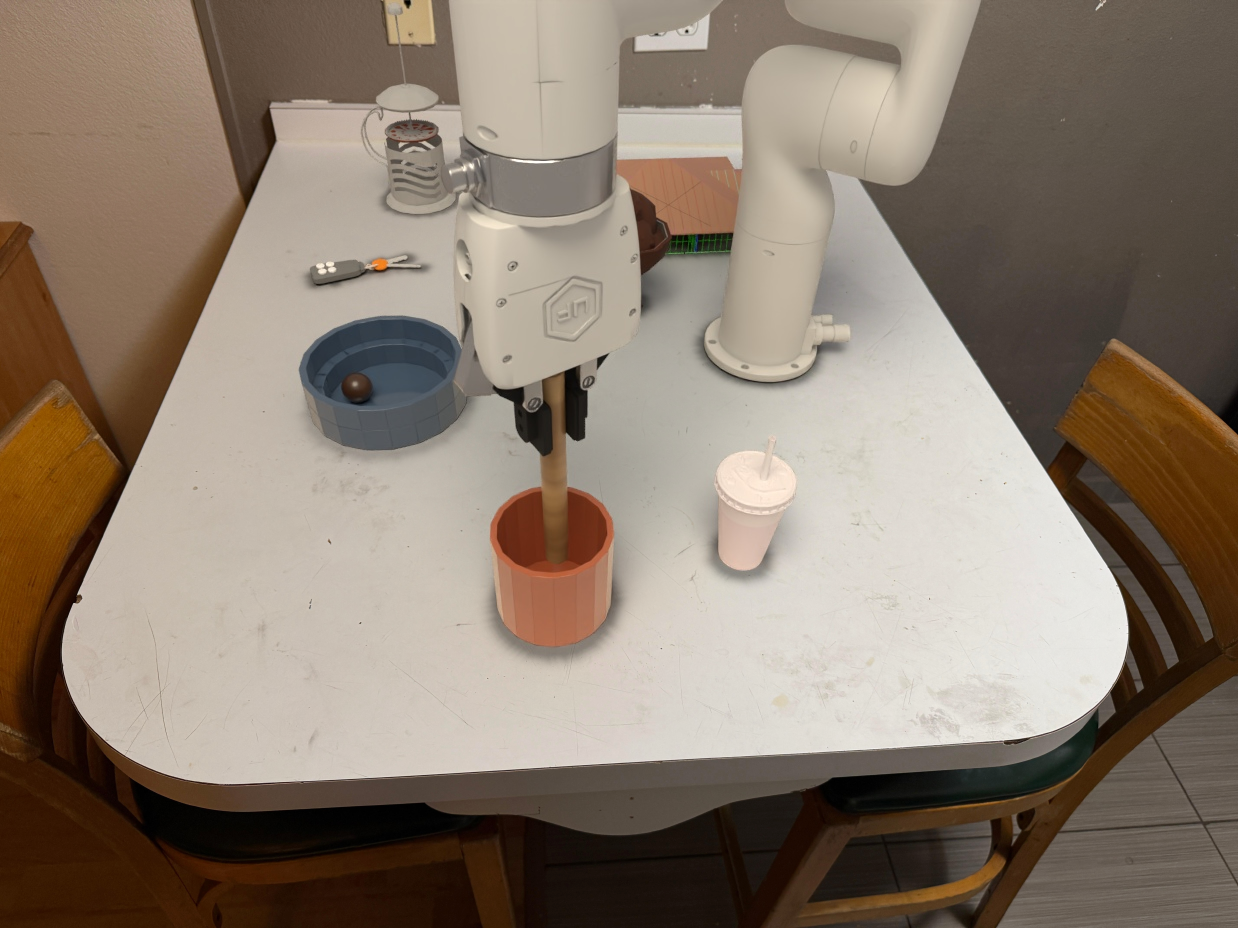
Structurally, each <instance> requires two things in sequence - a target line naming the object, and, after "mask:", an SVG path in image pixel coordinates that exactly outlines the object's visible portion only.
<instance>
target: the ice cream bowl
mask: <svg viewBox="0 0 1238 928" xmlns="http://www.w3.org/2000/svg"><path fill="white" fill-rule="evenodd" d="M629 188H630V187H629ZM630 192H631V197H632V201H633V206H634V212H635V218H636V224H637V231H638V240H639V252H640V270H641V276H644V275H645V274H646V273H648V272H649V271H650V270H652V269H653V268H654V267H655V266H656V265H657V264H658V263H660V262H661V260H662V259H663V258H664V257H665V255H667V254H666V253H668V251H669V250H670V242H671V241H672V239H673V237H672V236H673V235H672V236H671V233H670V230H669V227H668V224H667V222H665V221H663V220H661V219H659V218H657V217H656V207H655V205H654V204H653V203H652V202H651V201H650V200H649V199H647V198H646V197H645V196H644V195H643V194H641V193H639V192H637V191H635V190H632V189H631V188H630ZM671 243H672V242H671ZM641 308H643V302H642V300H641Z"/></svg>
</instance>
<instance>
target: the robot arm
mask: <svg viewBox="0 0 1238 928" xmlns="http://www.w3.org/2000/svg"><path fill="white" fill-rule="evenodd" d="M723 1H724V0H448V7H449V8H448V9H449V16H450V17H449V19H450V27H451V37H452V45H453V55H454V63H455V73H456V82H457V83H456V84H457V91H458V100H459V108H460V120H461V127H462V129H461V130H462V136H459V137H458V139H459V146H460V147H459V149H460V156H459V157H457V158H455V159H454V160H453V162H450V163H445V165H442V167H441V178H442V182H443V184H444V187H445V189H446V190H447V192H448V193H449V194H454V193H455V194H456V193H460V194H459V195H458V200H457V201H458V203H457V209H456V215H455V226H454V239H453V294H454V295H453V296H454V308H455V319H456V320H455V321H456V327H457V328H456V329H457V336H458V339H459V340H458V341H459V344H460V346H461V349H462V351H461V355H460V358H459V362H458V366H457V369H456V373H455V377H454V382H455V384H456V385H457V386H458V388H459V389H460V390H461V391H462V392H463V393H464V394H465V395H466V396H467V397H486V396H492V395H498V396H499V397H501V398H503V399H506V400H507V401H509V402H512V403H513V412H514V413H513V414H514V425H515V430H516V433H517V435H518V436H519V438H520V439H521V440H522V441H523V443H525V444H528V443H530V444H531V445H532V446H533V447H534V448H535V449H536V451H537V452H538V453H539V455H540V454H541V455H542V456H543V457H544V456H546V455H548V454H551V451H552V450H553V435H552V411H551V408H550V406H549V405H548V404H547V403H546V402H545V401H544V400H543V392H542V379H545V378H547V377H550V376H552V375H555V374H558V373H560V372H563V371H565V412H566V435H568V437H570V438H571V440H572V441H574V442H575V441H576V442H580V441H583V440H585V439H586V418H588V416H589V412H588V411H589V409H588V408H589V405H588V404H589V401H588V400H589V390H591V389H592V388H593V387H594V386H595V385H596V383H597V375H598V371H599V368H600V367H601V366H602V365H603V363H604V362H605V361H606V359H607V358H608V357H609V356H610V354H611V353H613V352H615V351H617V350H620V349H621V348H623V347H625V346H626V345H628V344H629V343H631V342H632V341H633V340H634V339H635V337H636V336H637V334H638V332H639V330H640V324H641V312H642V307H641V301H642V275H641V270H640V252H639V240H638V231H637V224H636V218H635V212H634V206H633V201H632V197H631V192H630V188H629V184H628V182H627V181H626V180H625V179H624V178H623V177H621V176H620V175H618V174H617V160H618V134H619V131H618V129H619V95H620V94H619V92H620V60H621V59H620V58H621V57H620V56H621V46H622V44H623V43H624V41H626V40H627V39H631V38H636V37H642V36H643V37H644V36H647V35H649V36H650V35H656V34H661V33H667V32H674V31H677V30H680V29H685V28H688V27H690V26H693V25H694V24H696V23H697V22H699V21H701V20H703V19H704V18H706V17H707V16H708V15H710V13H712V12H713V11H714V10H716V8H717V7H718V6H719V5H720V4H721V3H722V2H723ZM981 2H982V0H784V5H785V8H786V11H787V13H788V14H789V16H791V17H792V18H793V19H794V20H795V21H797V22H799V23H801V24H802V25H805V26H808V27H811V28H814V29H818V30H822V31H825V32H831V33H835V34H838V35H839V34H840V35H844V36H850V37H855V38H860V39H864V40H869V41H874V42H879V43H883V44H887V45H891V46H894V47H896V48H897V50H898V52H899V55H900V64H897V63H893V62H888V61H883V60H879V59H873V58H868V57H865V56H864V57H863V56H860V55H859V54H856V53H855V54H854V53H850V52H844V51H841V50H835V49H829V48H824V47H821V46H820V47H819V46H814V45H809V44H808V45H807V44H783V45H780V46H779V45H778V46H776V47H773V48H771V49H769V50H767V51H766V52H765V53H763V54H761V55H760V56H759V57H758V58H757V59H756V61H755V62H754V63H753V64H752V66H751V68H750V70H749V72H748V73H747V76H746V79H745V82H744V85H743V91H742V98H741V112H740V113H741V140H742V141H741V142H742V143H741V145H742V147H741V148H742V155H741V157H742V159H741V160H742V161H741V169H742V173H741V183H740V192H739V200H738V206H737V213H736V220H735V227H734V233H732V241H731V247H730V255H729V262H728V269H727V275H726V283H725V289H724V296H723V303H722V310H721V316H719V317H718V318H715V319H714V320H713V321H711V322H710V323H709V324H708V326H707V327H706V330H705V333H704V338H703V339H704V340H703V346H704V351H705V353H706V355H707V357H708V358H709V359H710V360H711V361H712V363H714V364H715V365H716V366H717V367H718V368H720V369H722V370H723V371H725V372H726V373H728V374H730V375H733V376H735V377H737V378H740V379H744V380H747V381H752V382H753V381H754V382H759V383H760V382H762V383H777V382H778V383H779V382H785V381H789V380H793V379H795V378H798V377H800V376H801V375H804V374H805V373H807V372H808V371H809V370H810V369H811V368H812V367H813V365H814V363H815V361H816V357H817V353H818V346H820V345H822V343H823V342H831V343H848V342H849V341H850V339H851V327H850V325H849V324H848V323H847V324H846V323H843V324H833V322H834V317H833V315H832V314H816V315H815V314H813V313H812V312H813V308H814V304H815V299H816V296H817V291H818V287H819V283H820V278H821V274H822V271H823V270H822V269H823V266H824V262H825V261H824V260H825V258H826V257H825V256H826V253H827V249H828V244H829V240H830V235H831V231H832V228H833V224H834V219H835V210H836V203H835V194H834V190H833V185H832V182H831V180H830V177H829V174H828V172H827V171H829V172H832V173H836V174H840V175H843V176H848V177H851V178H855V179H859V180H863V181H867V182H870V183H874V184H877V185H878V184H879V185H884V186H893V187H894V186H895V187H897V186H902V185H907V184H909V183H910V182H911V181H913V180H915V179H916V177H918V176H919V175H920V173H921V172H922V171H923V169H925V166H926V164H927V162H928V160H929V158H930V156H931V155H932V152H933V149H934V147H935V144H936V142H937V139H938V136H939V133H940V130H941V127H942V124H943V122H944V118H945V115H946V112H947V108H948V105H949V102H950V99H951V96H952V93H953V90H954V87H955V84H956V81H957V78H958V74H959V71H960V68H961V65H962V61H963V59H964V56H965V53H966V51H967V47H968V44H969V41H970V38H971V34H972V31H973V29H974V25H975V22H976V19H977V16H978V13H979V9H980V6H981ZM461 192H462V193H461Z"/></svg>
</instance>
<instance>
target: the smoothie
mask: <svg viewBox="0 0 1238 928" xmlns="http://www.w3.org/2000/svg"><path fill="white" fill-rule="evenodd" d="M776 443H777V437H776V436H774V435H770V436H768V439H767V444H766V450H765V451H761V450H741V451H737V452H734V453H731V454H729V455H728V456H725V458H724V459H722V460H721V461H720V463H719V464H718V465H717V470H716V473H715V475H714V482H713V483H714V484H713V485H714V488H715V491H716V493H717V503H718V505H717V506H718V507H717V509H718V511H717V512H718V515H717V516H718V518H717V519H718V521H717V524H718V527H717V530H718V531H717V533H718V536H717V539H718V543H717V545H718V551H717V552H718V556H719V558H720V560H721V561H722V562H723V563H724V564H725V565H726V566H727V567H729V568H732V569H734V570H737V571H750V570H754V569H756V568H757V567H758V566H759V565H760V564H761V563H762V562H763V559H764V557H765V555H766V554H767V551H768V548H769V546H770V544H771V542H772V539H773V537H774V535H775V533H776V531H777V529H778V526H779V524H780V522H781V520H782V518H783V515H784V513H785V511H786V509H787V508H788V507H789V506H790V505H791V504H792V503H793V502H794V500H795V497H796V496H797V495H796V494H797V493H796V491H797V488H798V479H797V475H796V473H795V472H794V470H793V468H792V467H791V466H790V465H789V464H788V463H787V462H786V461H785V460H783V459H781V458H780V457H778V456H776V455H774V451H775V447H776Z"/></svg>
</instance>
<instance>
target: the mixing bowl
mask: <svg viewBox="0 0 1238 928" xmlns="http://www.w3.org/2000/svg"><path fill="white" fill-rule="evenodd" d="M461 351H462V347H461V344H460V341H459V340H458V338H457V337H456V336H455V335H454V334H453V333H452V332H450V331H449V330H448V329H447V328H446V327H444V326H443V325H441V324H438V323H436V322H434V321H431V320H428V319H426V318H421V317H415V316H409V315H402V314H401V315H377V316H369V317H365V318H360V319H355V320H352V321H350V322H347V323H344V324H342V325H339V326H336V327H334V328H332V329H331V330H329V331H327V332H325V333H324V334H322V335H321V336H319V337H318V338H316V339H315V340H314V341H313V342H312V344H311V345H310V346H309V347H308V348H307V349H306V350H305V352H303V355H302V357H301V360H300V364H299V366H298V374H299V378H300V383H301V387H302V390H303V394H304V396H305V400H306V404H307V406H308V410H309V413H310V417H311V420H312V423H313V424H314V425H315V427H316V428H317V429H318V430H319V431H320V433H322V435H323V436H325V438H328V439H330V440H332V441H334V442H336V443H338V444H339V445H341V446H344V447H349V448H355V449H360V450H365V451H382V450H383V451H384V450H385V451H386V450H396V449H401V448H405V447H409V446H413V445H418V444H421V443H422V442H425V441H427V440H429V439H431V438H433V437H435V436H437V435H440V434H441V433H443V432H444V431H445V430H446V429H447V428H449V427H450V426H451V425H452V424H454V422H456V421H457V420H458V418H459V417H460V415H461V414H462V411H463V409H464V408H465V407H466V405H467V399H468V396H466V395H465V394H464V393H463V392H462V391H461V390H460V389H459V388H458V386H457V385H456V384H455V382H454V377H455V373H456V369H457V366H458V362H459V358H460V355H461ZM351 373H362V374H364V375H366V376H367V377H368V378H369V379H370V380H371V382H372V386H373V391H372V394H371V396H370V397H369V398H368V399H367V400H365V401H363V402H360V403H355V402H351V401H349V400H348V399H346V398H345V396H344V395H343V393H342V390H341V385H342V381H343V380H344V378H345V377H346V376H347V375H349V374H351Z"/></svg>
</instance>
